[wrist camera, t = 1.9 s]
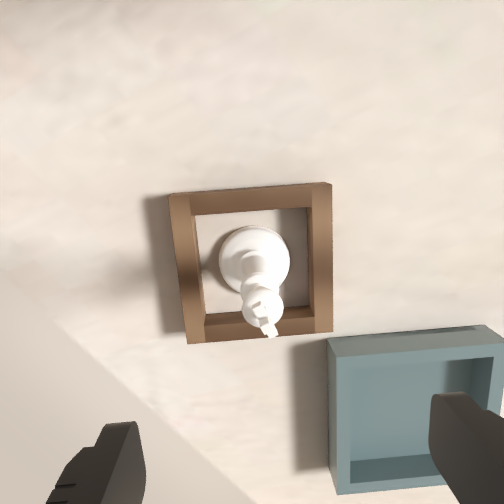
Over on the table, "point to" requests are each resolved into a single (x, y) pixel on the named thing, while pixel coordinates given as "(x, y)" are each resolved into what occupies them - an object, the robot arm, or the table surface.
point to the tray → (401, 400)
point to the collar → (242, 200)
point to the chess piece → (256, 273)
